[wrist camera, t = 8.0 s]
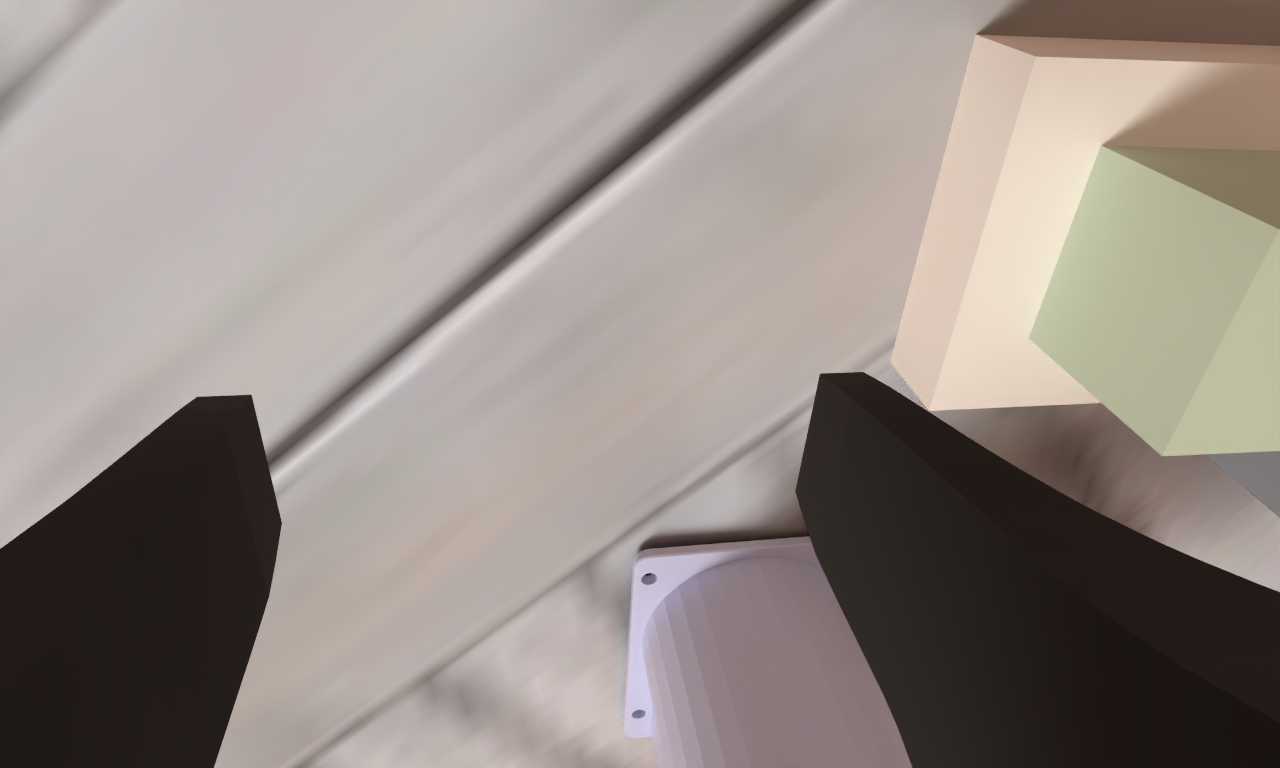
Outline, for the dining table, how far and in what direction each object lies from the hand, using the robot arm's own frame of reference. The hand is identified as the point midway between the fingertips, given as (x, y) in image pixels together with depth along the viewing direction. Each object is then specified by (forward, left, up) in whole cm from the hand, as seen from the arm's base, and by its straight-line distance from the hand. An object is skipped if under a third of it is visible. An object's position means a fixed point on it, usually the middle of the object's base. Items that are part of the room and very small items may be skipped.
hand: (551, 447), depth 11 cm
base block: (-1, -15, -11) cm, 19 cm away
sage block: (-1, -15, -8) cm, 17 cm away
